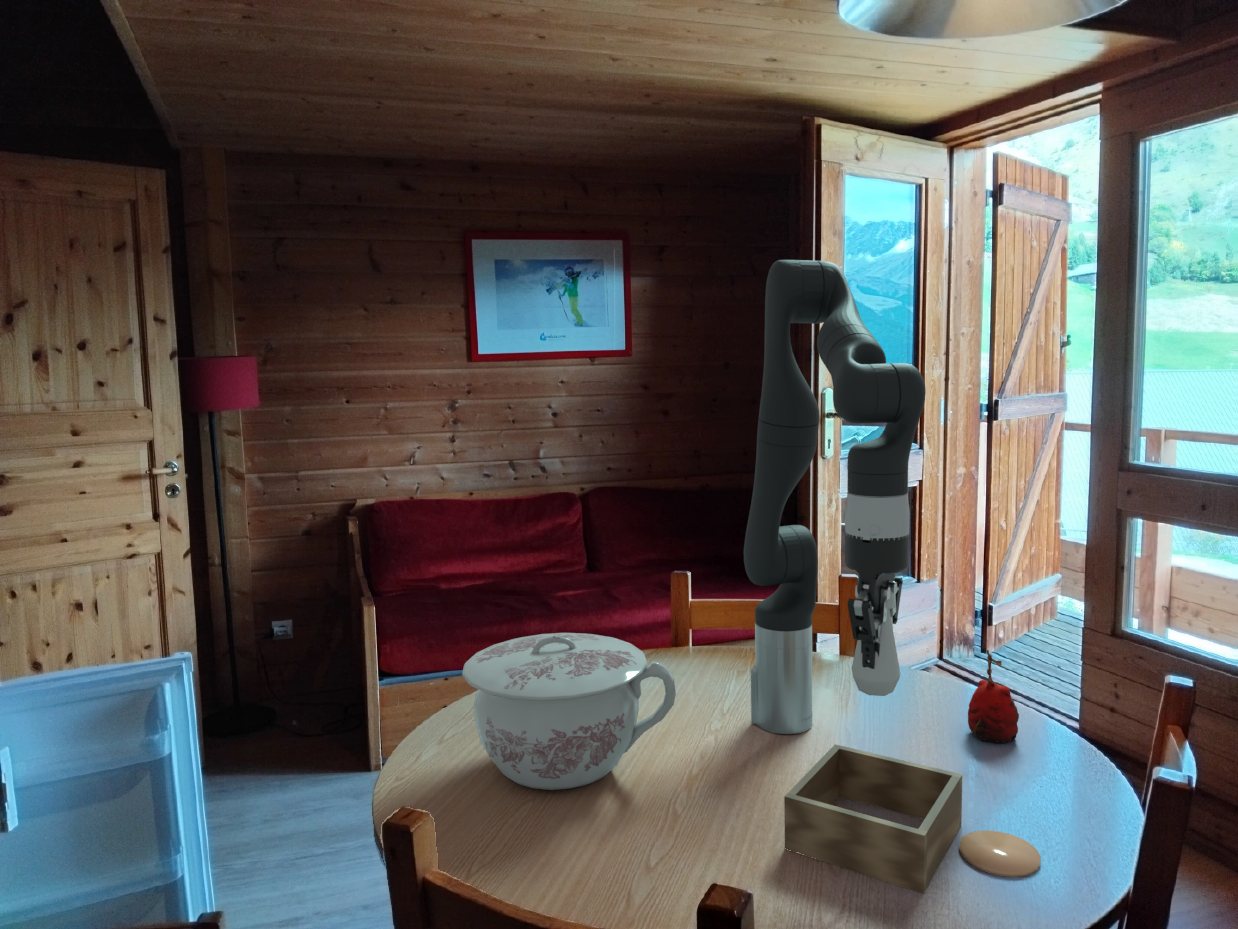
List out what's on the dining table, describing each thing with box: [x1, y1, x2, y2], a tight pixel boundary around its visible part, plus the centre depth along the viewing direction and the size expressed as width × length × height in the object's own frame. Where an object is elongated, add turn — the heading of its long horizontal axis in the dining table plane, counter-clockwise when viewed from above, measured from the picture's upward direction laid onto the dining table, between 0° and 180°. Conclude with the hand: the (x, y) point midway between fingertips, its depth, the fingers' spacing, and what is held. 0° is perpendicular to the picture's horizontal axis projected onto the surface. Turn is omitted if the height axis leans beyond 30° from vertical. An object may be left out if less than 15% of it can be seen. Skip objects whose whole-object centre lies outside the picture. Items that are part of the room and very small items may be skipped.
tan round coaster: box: [959, 830, 1041, 878], centre depth 107 cm, size 9×9×1 cm
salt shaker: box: [851, 590, 901, 697], centre depth 108 cm, size 6×6×13 cm
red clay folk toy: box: [967, 649, 1020, 744], centre depth 138 cm, size 8×7×15 cm
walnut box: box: [783, 743, 963, 894], centre depth 111 cm, size 17×17×7 cm
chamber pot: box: [461, 632, 677, 791], centre depth 131 cm, size 28×28×21 cm
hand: (875, 665), depth 109 cm, fingers closed on salt shaker, 3 cm apart
